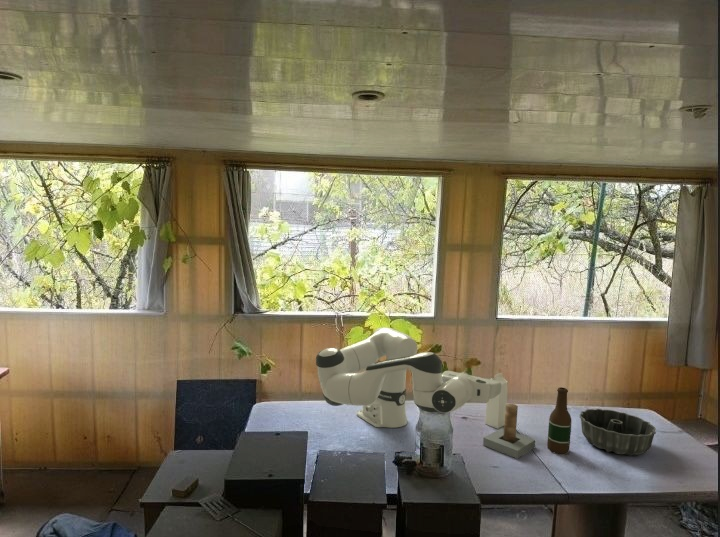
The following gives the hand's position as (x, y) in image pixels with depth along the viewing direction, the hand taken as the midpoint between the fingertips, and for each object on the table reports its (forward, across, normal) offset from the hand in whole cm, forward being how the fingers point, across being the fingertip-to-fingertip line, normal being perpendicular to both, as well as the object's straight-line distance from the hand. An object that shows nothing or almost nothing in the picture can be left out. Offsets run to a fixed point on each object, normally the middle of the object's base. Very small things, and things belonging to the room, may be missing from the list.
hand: (478, 377), depth 168 cm
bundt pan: (+46, +40, -31) cm, 68 cm away
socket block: (+18, +7, -30) cm, 36 cm away
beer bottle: (+26, +23, -30) cm, 47 cm away
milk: (+35, -4, -31) cm, 46 cm away
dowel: (+18, +7, -30) cm, 36 cm away
